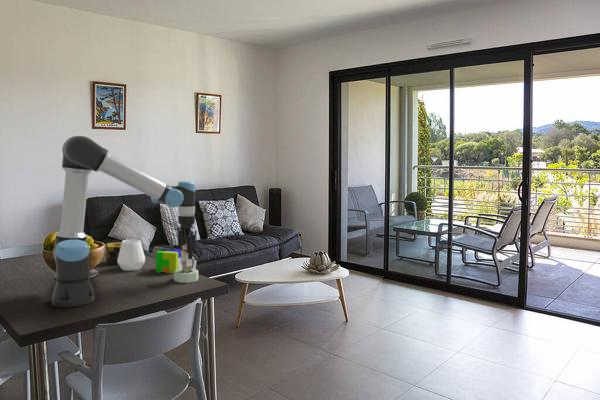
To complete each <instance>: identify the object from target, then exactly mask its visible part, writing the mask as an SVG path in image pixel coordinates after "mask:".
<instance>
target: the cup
mask: <svg viewBox="0 0 600 400" xmlns="http://www.w3.org/2000/svg"><path fill="white" fill-rule="evenodd" d="M121 243H122V244H121V248H120V252H119V256H118V260H117V262H118V264H119V265H118V266H119V267H120V269H121V270H123V271H129V272H130V271H137V270H141V269H142V267H143V265H144V264H145V262H146V256H145V253H144V249H143V245H142V242H141V240H139V239H124V240H122V241H121ZM140 268H141V269H140Z"/></svg>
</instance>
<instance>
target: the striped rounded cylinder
mask: <svg viewBox="0 0 600 400" xmlns="http://www.w3.org/2000/svg"><path fill="white" fill-rule="evenodd" d="M186 251H187V244H186V245H182V273H190V272H191V269H192V266H186Z"/></svg>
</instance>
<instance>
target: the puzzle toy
mask: <svg viewBox="0 0 600 400" xmlns="http://www.w3.org/2000/svg"><path fill="white" fill-rule="evenodd" d="M155 254H156V255H155V272H156V273H160V272H165V273H166V274H174V271H176V270H178V269H182V264H181V250H180V248H168V247H167V248H166V247H165V248H164V247H163V248H162V249H160V250H158V251H156V253H155ZM165 273H164V274H165Z"/></svg>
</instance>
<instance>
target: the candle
mask: <svg viewBox="0 0 600 400" xmlns="http://www.w3.org/2000/svg"><path fill="white" fill-rule="evenodd" d="M121 244H122V242H107V243H106V254H105V255H106V257H105V258H106V260H105V261H106V264H107V266H109V267H111V266H119V264H118V262H117V260H118V256H119V252H120V248H121Z"/></svg>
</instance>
